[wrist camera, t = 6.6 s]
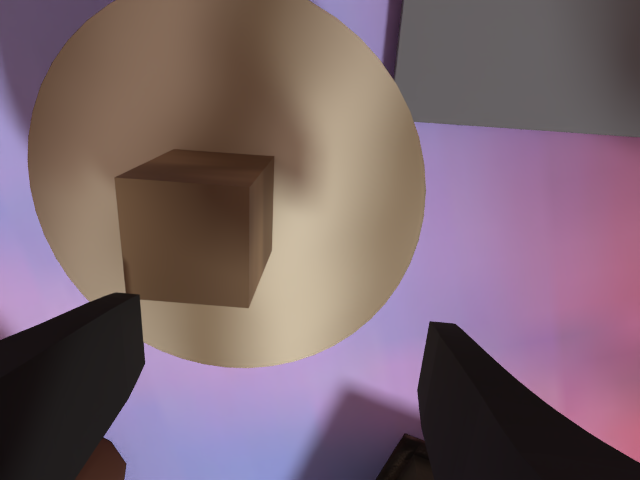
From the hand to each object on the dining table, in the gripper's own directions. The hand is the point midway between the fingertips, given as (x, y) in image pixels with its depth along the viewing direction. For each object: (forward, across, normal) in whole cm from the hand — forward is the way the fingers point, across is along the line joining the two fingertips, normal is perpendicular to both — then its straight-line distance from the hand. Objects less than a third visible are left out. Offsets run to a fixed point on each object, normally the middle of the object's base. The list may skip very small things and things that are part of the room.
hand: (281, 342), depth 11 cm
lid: (+5, +3, -2) cm, 6 cm away
